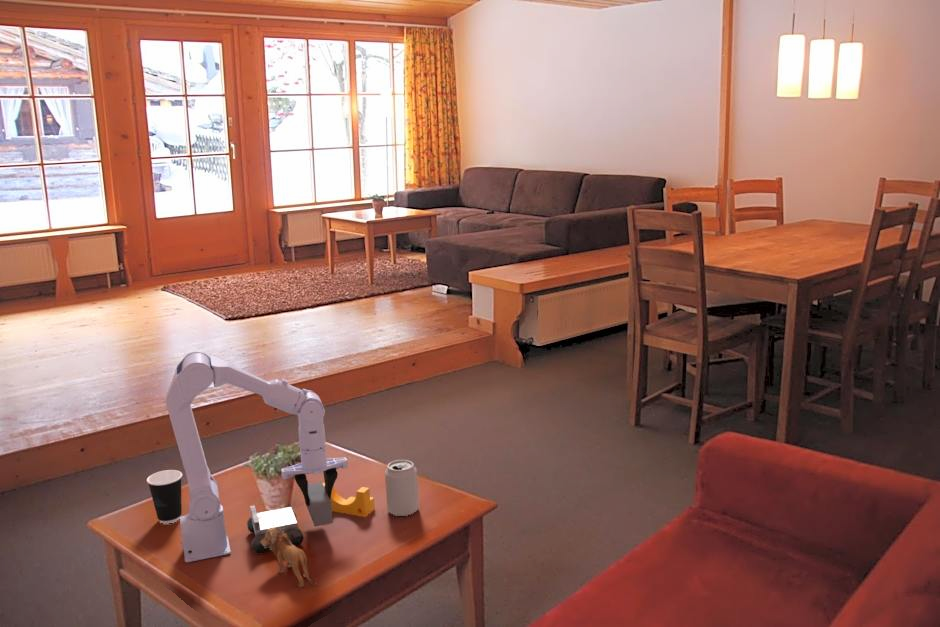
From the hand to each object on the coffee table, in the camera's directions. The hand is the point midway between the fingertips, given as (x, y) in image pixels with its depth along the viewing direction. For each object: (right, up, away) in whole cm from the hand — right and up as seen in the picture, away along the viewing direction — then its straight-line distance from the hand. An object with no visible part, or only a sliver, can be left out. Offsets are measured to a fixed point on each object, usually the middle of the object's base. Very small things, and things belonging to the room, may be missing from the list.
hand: (317, 502), depth 192 cm
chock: (0, -3, 0) cm, 3 cm away
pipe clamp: (+5, -5, +11) cm, 13 cm away
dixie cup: (-37, -6, +9) cm, 38 cm away
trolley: (-9, -8, -2) cm, 12 cm away
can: (+19, -4, +9) cm, 21 cm away
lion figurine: (-3, -12, -17) cm, 20 cm away
